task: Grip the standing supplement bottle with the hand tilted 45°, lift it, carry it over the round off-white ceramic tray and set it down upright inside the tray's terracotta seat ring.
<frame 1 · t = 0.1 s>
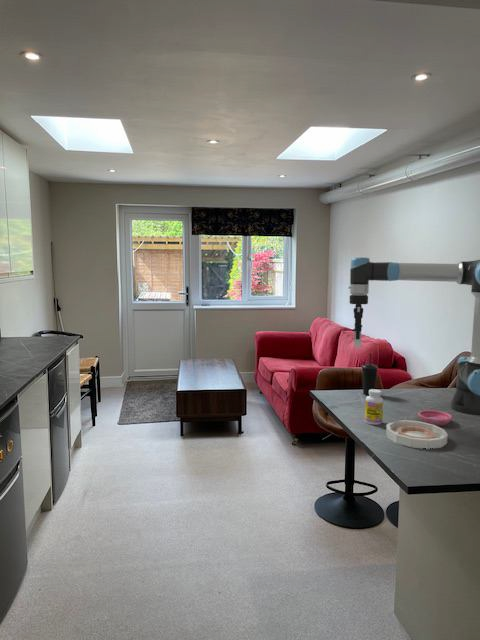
hand: (357, 344, 196), 28 cm above the countertop, tool pointing down, fingers open, 13 cm apart
drinking cup: (368, 394, 223), on the countertop
saucer: (434, 422, 184), on the countertop
supplement bottle: (373, 423, 182), on the countertop
ceramic tray: (415, 437, 166), on the countertop
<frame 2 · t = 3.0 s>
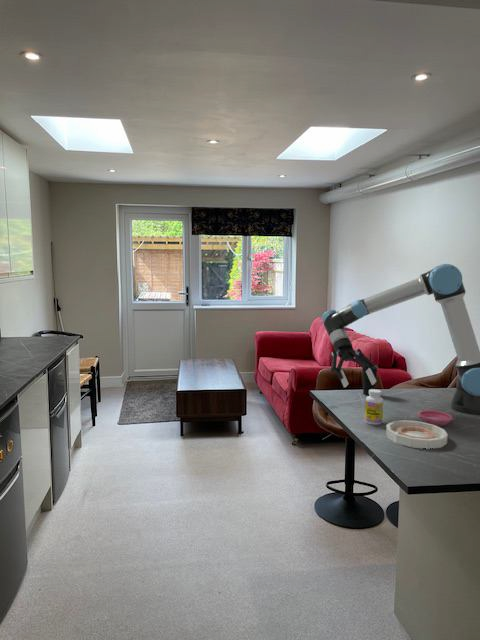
hand: (360, 384, 188), 13 cm above the countertop, tool tilted 45°, fingers open, 13 cm apart
nothing on the countertop moved.
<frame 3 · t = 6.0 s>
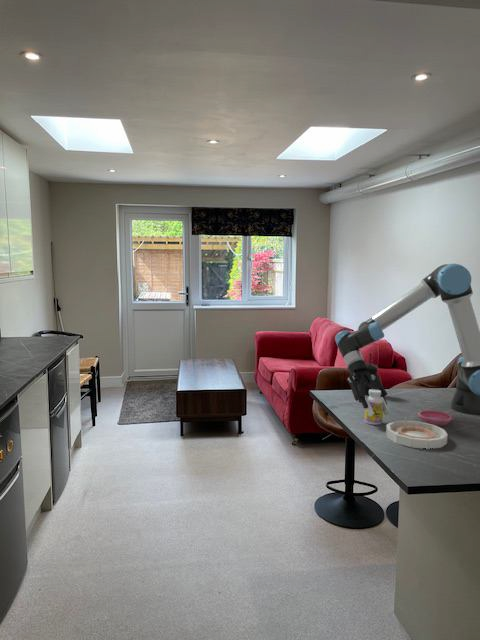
hand: (379, 414, 178), 4 cm above the countertop, tool tilted 45°, fingers closed on supplement bottle, 7 cm apart
supplement bottle: (373, 423, 182), on the countertop, touching gripper
everything else where it was.
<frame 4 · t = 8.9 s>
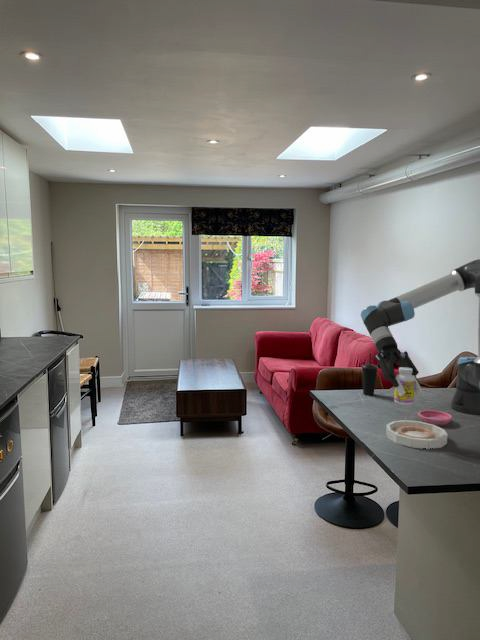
hand: (411, 393, 165), 16 cm above the countertop, tool tilted 45°, fingers closed on supplement bottle, 7 cm apart
supplement bottle: (403, 403, 169), point 11 cm above the countertop, touching gripper
everything else where it was.
when the fingers open (7 cm above the countertop, at t = 12.0 s): supplement bottle drops 1 cm, resting on ceramic tray.
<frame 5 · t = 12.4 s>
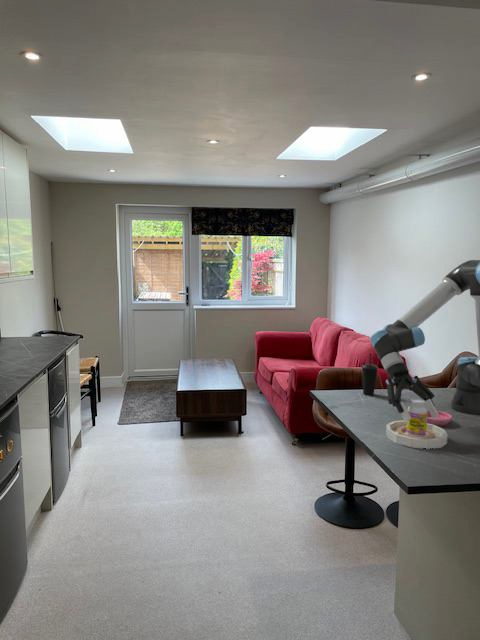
hand: (422, 418, 163), 8 cm above the countertop, tool tilted 45°, fingers open, 12 cm apart
supplement bottle: (415, 435, 166), point 1 cm above the countertop, touching ceramic tray
everything else where it was.
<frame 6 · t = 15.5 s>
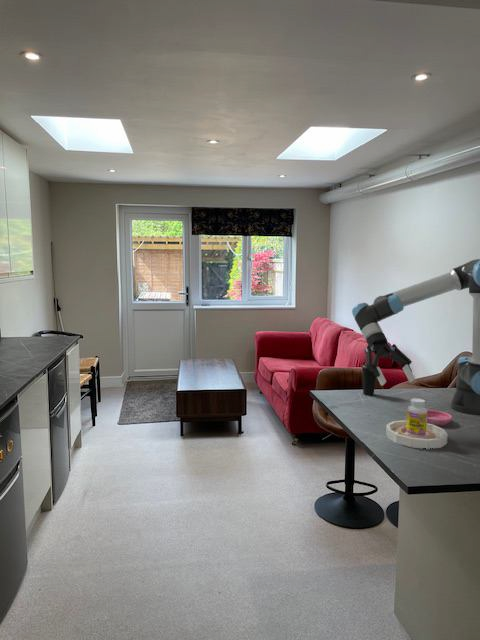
hand: (398, 382, 174), 18 cm above the countertop, tool tilted 45°, fingers open, 13 cm apart
nothing on the countertop moved.
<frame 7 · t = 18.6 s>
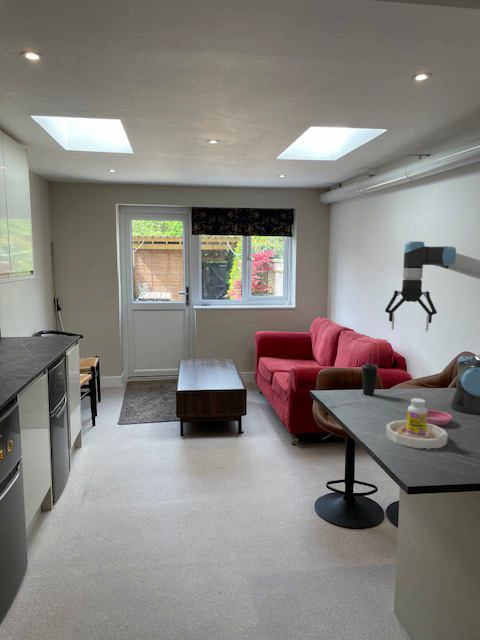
hand: (409, 330, 194), 35 cm above the countertop, tool pointing down, fingers open, 13 cm apart
nothing on the countertop moved.
at the end: supplement bottle 0.2 cm from the ceramic tray (horizontally); supplement bottle tilted 0°; the gripper is holding nothing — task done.
